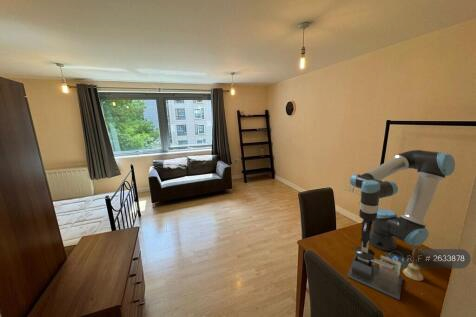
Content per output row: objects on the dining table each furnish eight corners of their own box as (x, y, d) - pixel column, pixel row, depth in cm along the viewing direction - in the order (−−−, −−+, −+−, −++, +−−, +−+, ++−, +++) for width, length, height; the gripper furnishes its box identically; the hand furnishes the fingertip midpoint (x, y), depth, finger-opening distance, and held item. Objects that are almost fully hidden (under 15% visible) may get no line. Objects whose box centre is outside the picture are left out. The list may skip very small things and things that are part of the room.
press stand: (354, 260, 118) (356, 239, 115) (402, 278, 103) (405, 256, 100) (346, 276, 106) (348, 254, 104) (399, 300, 92) (402, 275, 89)
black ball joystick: (355, 258, 114) (357, 244, 112) (393, 272, 102) (395, 257, 100) (351, 267, 107) (352, 252, 105) (391, 283, 96) (393, 267, 94)
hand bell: (399, 272, 108) (402, 246, 104) (408, 266, 111) (412, 241, 107) (417, 283, 100) (422, 255, 97) (427, 277, 103) (431, 250, 100)
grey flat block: (384, 264, 100) (384, 263, 99) (394, 268, 97) (394, 267, 97) (384, 266, 99) (384, 265, 98) (394, 270, 96) (394, 269, 96)
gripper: (362, 204, 108) (359, 242, 113) (356, 213, 98) (353, 254, 103) (379, 207, 103) (375, 248, 108) (374, 217, 93) (370, 261, 98)
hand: (364, 251), depth 105 cm, fingers closed
